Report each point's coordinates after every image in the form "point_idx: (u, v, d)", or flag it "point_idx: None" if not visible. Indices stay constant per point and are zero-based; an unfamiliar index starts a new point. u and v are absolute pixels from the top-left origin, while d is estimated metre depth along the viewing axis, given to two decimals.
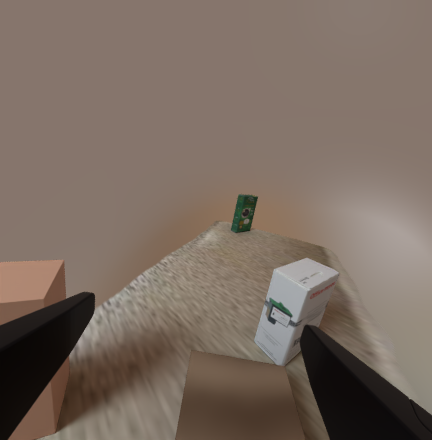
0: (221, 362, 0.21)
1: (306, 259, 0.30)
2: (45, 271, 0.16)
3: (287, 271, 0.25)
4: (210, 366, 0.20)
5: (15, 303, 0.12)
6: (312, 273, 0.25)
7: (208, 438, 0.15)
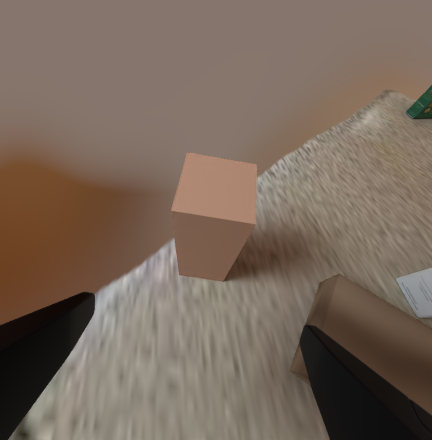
0: (368, 298, 0.20)
1: None
2: (245, 180, 0.14)
3: None
4: (356, 297, 0.20)
5: (232, 221, 0.12)
6: None
7: None
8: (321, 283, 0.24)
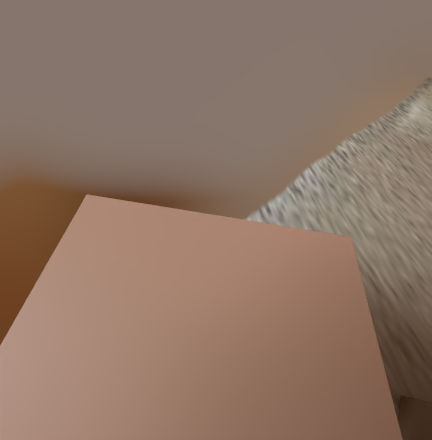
0: None
1: None
2: (325, 333, 0.03)
3: None
4: None
5: None
6: None
7: None
8: (406, 401, 0.13)
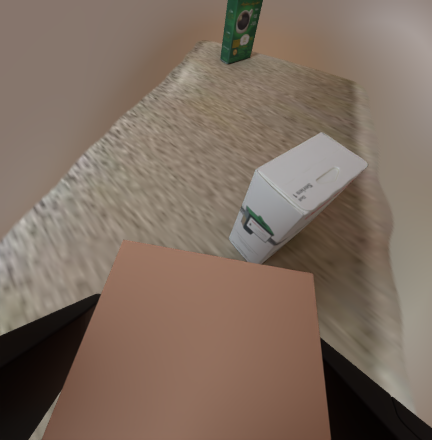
0: None
1: (319, 137, 0.17)
2: (286, 344, 0.05)
3: (278, 172, 0.14)
4: None
5: None
6: (320, 173, 0.15)
7: None
8: None
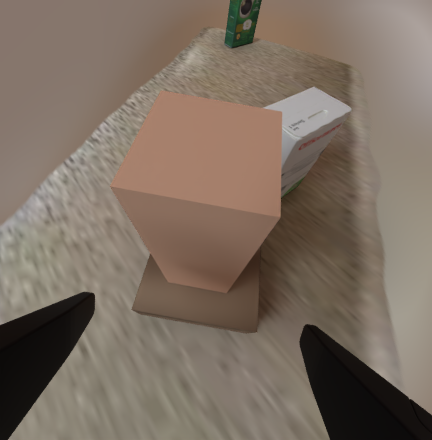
0: None
1: (312, 89, 0.20)
2: (260, 136, 0.07)
3: None
4: None
5: (233, 211, 0.06)
6: (311, 113, 0.18)
7: None
8: None
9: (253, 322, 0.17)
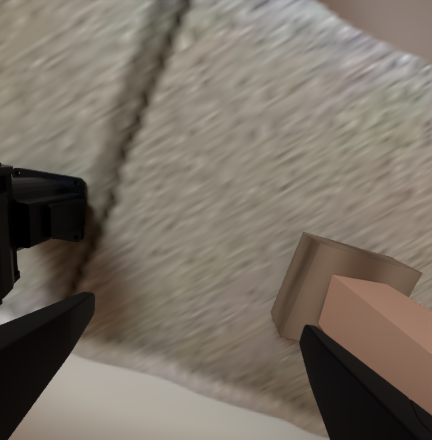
0: None
1: None
2: None
3: None
4: (397, 289, 0.19)
5: None
6: None
7: None
8: (390, 257, 0.22)
9: (287, 335, 0.20)
